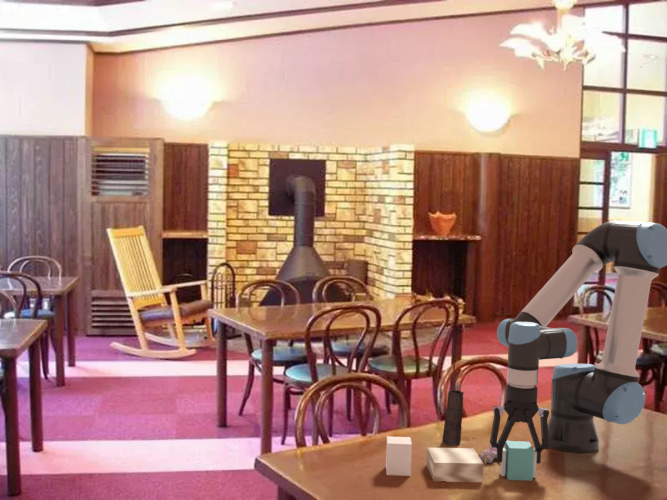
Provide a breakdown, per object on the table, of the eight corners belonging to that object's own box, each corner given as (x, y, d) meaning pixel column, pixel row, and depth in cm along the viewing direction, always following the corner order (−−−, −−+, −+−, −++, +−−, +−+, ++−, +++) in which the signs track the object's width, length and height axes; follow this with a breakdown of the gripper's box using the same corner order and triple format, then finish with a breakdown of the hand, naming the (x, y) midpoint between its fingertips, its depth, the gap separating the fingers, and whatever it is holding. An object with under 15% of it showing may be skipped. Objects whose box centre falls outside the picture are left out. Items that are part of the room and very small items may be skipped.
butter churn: (477, 447, 231) (482, 347, 229) (447, 450, 228) (451, 348, 226) (461, 437, 240) (465, 341, 238) (432, 440, 237) (435, 342, 235)
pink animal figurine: (491, 471, 216) (524, 451, 225) (489, 450, 215) (523, 430, 224) (471, 465, 220) (505, 445, 230) (470, 444, 219) (504, 425, 229)
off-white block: (409, 467, 213) (410, 437, 212) (410, 475, 207) (411, 444, 206) (385, 467, 213) (386, 436, 212) (386, 475, 207) (387, 443, 206)
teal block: (527, 472, 212) (529, 441, 211) (532, 480, 206) (533, 449, 205) (503, 471, 212) (505, 440, 211) (508, 479, 206) (509, 448, 205)
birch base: (472, 467, 215) (473, 448, 215) (482, 483, 203) (483, 463, 203) (426, 466, 215) (427, 447, 215) (433, 482, 203) (434, 462, 203)
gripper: (558, 382, 210) (554, 471, 212) (479, 379, 211) (475, 468, 213) (566, 389, 203) (561, 482, 205) (484, 386, 204) (480, 478, 205)
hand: (517, 475), depth 209 cm, fingers open, 7 cm apart
